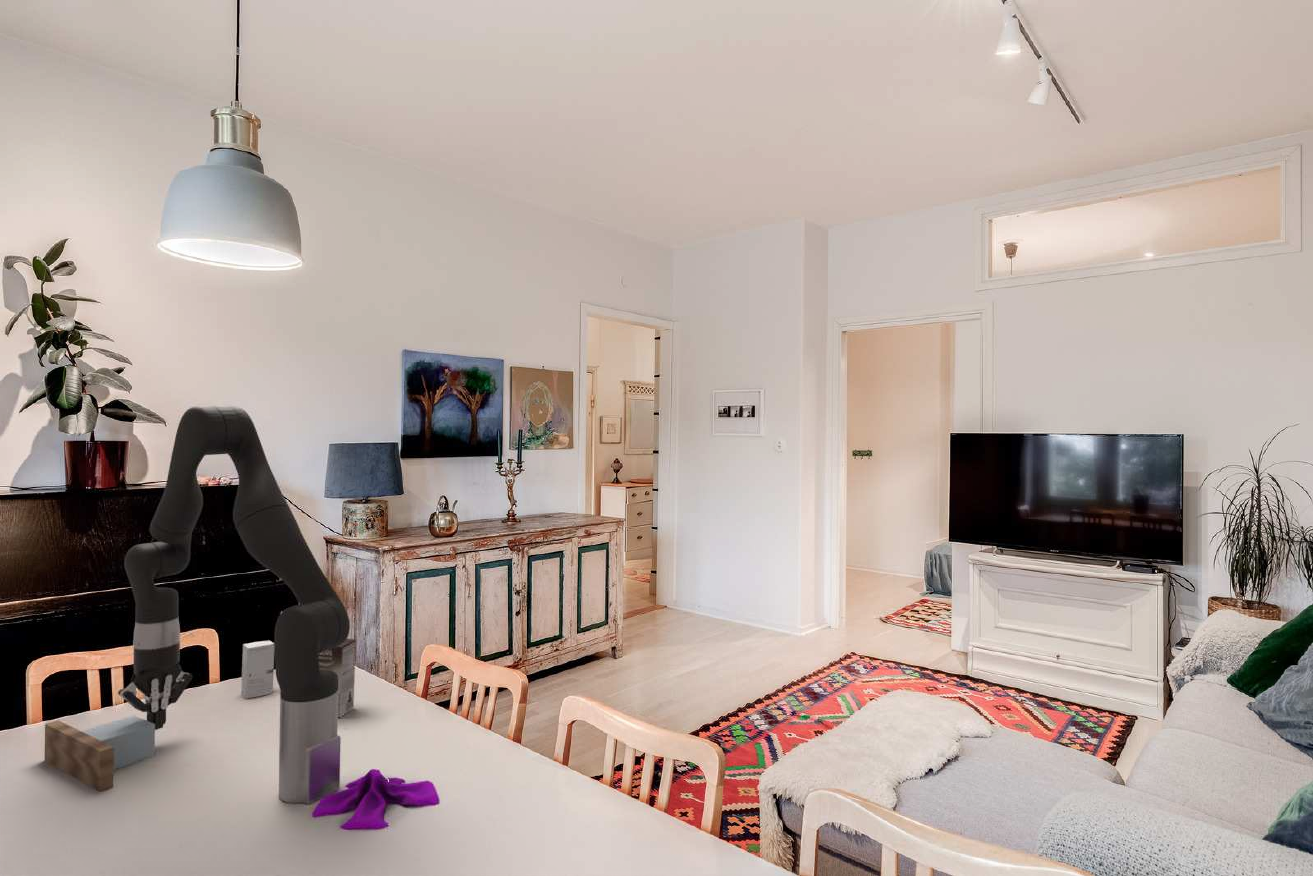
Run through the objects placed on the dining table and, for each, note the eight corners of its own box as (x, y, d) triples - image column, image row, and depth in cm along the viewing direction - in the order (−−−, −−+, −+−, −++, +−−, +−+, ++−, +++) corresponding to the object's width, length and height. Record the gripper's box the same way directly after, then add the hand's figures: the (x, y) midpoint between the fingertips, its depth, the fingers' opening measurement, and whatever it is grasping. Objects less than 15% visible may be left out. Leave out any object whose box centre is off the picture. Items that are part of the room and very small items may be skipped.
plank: (113, 786, 124) (113, 747, 124) (99, 791, 123) (100, 751, 123) (57, 756, 135) (58, 720, 135) (44, 760, 134) (45, 723, 134)
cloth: (459, 794, 125) (459, 759, 125) (374, 847, 109) (375, 807, 109) (371, 765, 135) (371, 733, 135) (281, 810, 119) (281, 774, 119)
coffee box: (301, 716, 156) (302, 644, 156) (317, 705, 163) (319, 636, 163) (340, 719, 155) (341, 646, 155) (355, 708, 162) (356, 638, 162)
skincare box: (245, 699, 165) (246, 648, 165) (240, 694, 169) (241, 644, 169) (274, 693, 170) (275, 643, 170) (268, 688, 173) (269, 639, 173)
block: (154, 755, 137) (155, 724, 137) (93, 776, 128) (93, 743, 128) (133, 745, 141) (134, 715, 141) (73, 765, 132) (73, 733, 132)
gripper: (128, 654, 133) (127, 745, 133) (202, 636, 144) (201, 720, 144) (109, 647, 136) (108, 736, 137) (182, 630, 148) (182, 713, 148)
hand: (156, 728), depth 140 cm, fingers closed
